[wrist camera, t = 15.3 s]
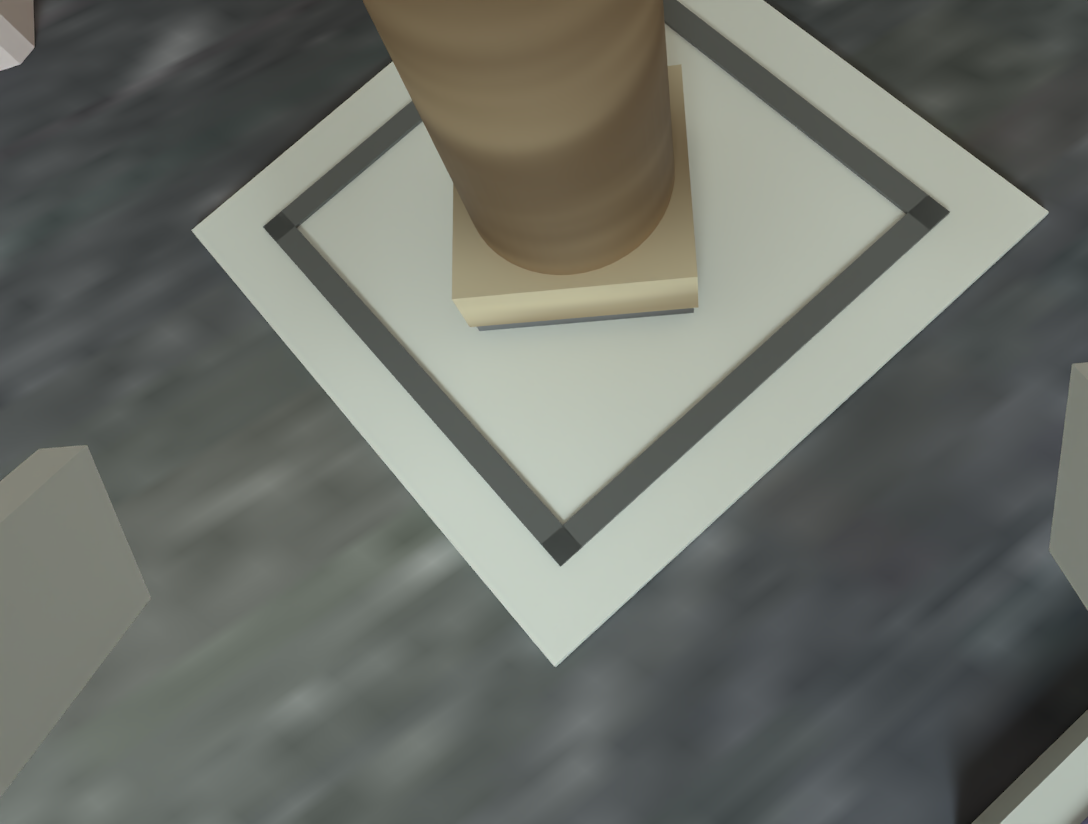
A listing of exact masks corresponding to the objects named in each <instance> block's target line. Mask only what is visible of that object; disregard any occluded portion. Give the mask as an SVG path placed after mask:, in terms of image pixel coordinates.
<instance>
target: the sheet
mask: <svg viewBox="0 0 1088 824" xmlns="http://www.w3.org/2000/svg"><path fill="white" fill-rule="evenodd" d="M663 6H664V21H665V36H666V51H667V65H668V66H672V65H680V64H681V67H682V80H683V93H684V106H685V119H686V132H687V145H688V158H689V171H690V184H691V197H692V210H693V223H694V236H695V249H696V262H697V275H698V306H699V307H698V308H694V313H686V314H675V315H663V316H651V317H640V318H628V319H616V320H604V321H593V322H581V323H569V324H558V325H546V326H534V327H523V328H511V329H499V330H488V331H479V330H478V328H477V327H469V325H468V324H467V322H466V321H465V319H464V318H463V316H462V314H461V313H460V311H459V310H458V308H457V307H456V305H455V304H454V302H453V300H452V240H453V181H452V179H451V177H450V175H449V173H448V171H447V169H446V167H445V165H444V163H443V161H442V159H441V157H440V155H439V153H438V151H437V149H436V147H435V145H434V143H433V141H432V139H431V137H430V135H429V133H428V131H427V129H426V127H425V125H424V123H423V121H422V119H421V117H420V115H419V113H418V111H417V109H416V107H415V105H414V103H413V101H412V99H411V97H410V95H409V93H408V91H407V89H406V87H405V85H404V83H403V81H402V79H401V77H400V75H399V73H398V71H397V69H396V67H395V65H394V63H393V62H391V63H390V64H389V65H388V66H387V67H385V68H384V69H383V70H382V71H381V72H379V73H378V74H377V75H376V76H375V77H373V78H372V79H371V80H370V81H369V82H367V83H366V84H365V85H364V86H363V87H362V88H360V89H359V90H358V91H357V92H356V93H354V94H353V95H352V96H351V97H350V98H348V99H347V100H346V101H345V102H344V103H342V104H341V105H340V106H339V107H338V108H337V109H335V110H334V111H333V112H332V113H331V114H329V115H328V116H327V117H326V118H325V119H323V120H322V121H321V122H320V123H319V124H317V125H316V126H315V127H314V128H313V129H311V130H310V131H309V132H308V133H307V134H306V135H304V136H303V137H302V138H301V139H300V140H298V141H297V142H296V143H295V144H294V145H292V146H291V147H290V148H289V149H288V150H286V151H285V152H284V153H283V154H282V155H281V156H279V157H278V158H277V159H276V160H275V161H273V162H272V163H271V164H270V165H269V166H267V167H266V168H265V169H264V170H263V171H261V172H260V173H259V174H258V175H257V176H255V177H254V178H253V179H252V180H251V181H250V182H248V183H247V184H246V185H245V186H244V187H242V188H241V189H240V190H239V191H238V192H236V193H235V194H234V195H233V196H232V197H230V198H229V199H228V200H227V201H226V202H225V203H223V204H222V205H221V206H220V207H219V208H217V209H216V210H215V211H214V212H213V213H211V214H210V215H209V216H208V217H207V218H205V219H204V220H203V221H202V222H201V223H199V224H198V225H197V226H196V227H195V228H194V229H192V230H191V231H192V232H193V233H194V234H195V235H196V237H197V238H198V239H199V240H200V241H201V243H202V244H203V245H204V246H205V247H206V249H207V250H208V251H209V252H210V253H211V255H212V256H213V257H214V258H215V259H216V261H217V262H218V263H219V264H220V265H221V267H222V268H223V269H224V270H225V271H226V273H227V274H228V275H229V276H230V277H231V279H232V280H233V281H234V282H235V283H236V285H237V286H238V287H239V288H240V289H241V291H242V292H243V293H244V294H245V295H246V297H247V298H248V299H249V300H250V301H251V303H252V304H253V305H254V306H255V307H256V309H257V310H258V311H259V312H260V313H261V315H262V316H263V317H264V318H265V320H266V321H267V322H268V323H269V324H270V326H271V327H272V328H273V329H274V330H275V332H276V333H277V334H278V335H279V336H280V338H281V339H282V340H283V341H284V342H285V344H286V345H287V346H288V347H289V348H290V350H291V351H292V352H293V353H294V354H295V356H296V357H297V358H298V359H299V360H300V362H301V363H302V364H303V365H304V366H305V368H306V369H307V370H308V371H309V372H310V374H311V375H312V376H313V377H314V378H315V380H316V381H317V382H318V383H319V384H320V386H321V387H322V388H323V389H324V390H325V392H326V393H327V394H328V395H329V396H330V398H331V399H332V400H333V401H334V402H335V404H336V405H337V406H338V407H339V408H340V410H341V411H342V412H343V413H344V414H345V416H346V417H347V418H348V419H349V420H350V422H351V423H352V424H353V425H354V426H355V428H356V429H357V430H358V431H359V432H360V434H361V435H362V436H363V437H364V438H365V440H366V441H367V442H368V443H369V444H370V446H371V447H372V448H373V449H374V450H375V452H376V453H377V454H378V455H379V456H380V458H381V459H382V460H383V461H384V463H385V464H386V465H387V466H388V467H389V469H390V470H391V471H392V472H393V473H394V475H395V476H396V477H397V478H398V479H399V481H400V482H401V483H402V484H403V485H404V487H405V488H406V489H407V490H408V491H409V493H410V494H411V495H412V496H413V497H414V499H415V500H416V501H417V502H418V503H419V505H420V506H421V507H422V508H423V509H424V511H425V512H426V513H427V514H428V515H429V517H430V518H431V519H432V520H433V521H434V523H435V524H436V525H437V526H438V527H439V529H440V530H441V531H442V532H443V533H444V535H445V536H446V537H447V538H448V539H449V541H450V542H451V543H452V544H453V545H454V547H455V548H456V549H457V550H458V551H459V553H460V554H461V555H462V556H463V557H464V559H465V560H466V561H467V562H468V563H469V565H470V566H471V567H472V568H473V569H474V571H475V572H476V573H477V574H478V575H479V577H480V578H481V579H482V580H483V581H484V583H485V584H486V585H487V586H488V587H489V589H490V590H491V591H492V592H493V593H494V595H495V596H496V597H497V598H498V599H499V601H500V602H501V603H502V604H503V605H504V607H505V608H506V609H507V610H508V612H509V613H510V614H511V615H512V616H513V618H514V619H515V620H516V621H517V622H518V624H519V625H520V626H521V627H522V628H523V630H524V631H525V632H526V633H527V634H528V636H529V637H530V638H531V639H532V640H533V642H534V643H535V644H536V645H537V646H538V648H539V649H540V650H541V651H542V652H543V654H544V655H545V656H546V657H547V658H548V660H549V661H550V662H551V663H552V664H553V666H554V667H556V666H557V665H559V664H560V663H561V662H562V661H563V660H564V659H565V658H566V657H567V656H568V655H569V654H571V653H572V652H573V651H574V650H575V649H576V648H577V647H578V646H579V645H580V644H581V643H582V642H584V641H585V640H586V639H587V638H588V637H589V636H590V635H591V634H592V633H593V632H594V631H596V630H597V629H598V628H599V627H600V626H601V625H602V624H603V623H604V622H605V621H606V620H607V619H609V618H610V617H611V616H612V615H613V614H614V613H615V612H616V611H617V610H618V609H619V608H621V607H622V606H623V605H624V604H625V603H626V602H627V601H628V600H629V599H630V598H631V597H633V596H634V595H635V594H636V593H637V592H638V591H639V590H640V589H641V588H642V587H643V586H644V585H646V584H647V583H648V582H649V581H650V580H651V579H652V578H653V577H654V576H655V575H656V574H658V573H659V572H660V571H661V570H662V569H663V568H664V567H665V566H666V565H667V564H668V563H669V562H671V561H672V560H673V559H674V558H675V557H676V556H677V555H678V554H679V553H680V552H681V551H683V550H684V549H685V548H686V547H687V546H688V545H689V544H690V543H691V542H692V541H693V540H694V539H696V538H697V537H698V536H699V535H700V534H701V533H702V532H703V531H704V530H705V529H706V528H708V527H709V526H710V525H711V524H712V523H713V522H714V521H715V520H716V519H717V518H718V517H719V516H721V515H722V514H723V513H724V512H725V511H726V510H727V509H728V508H729V507H730V506H731V505H733V504H734V503H735V502H736V501H737V500H738V499H739V498H740V497H741V496H742V495H743V494H744V493H746V492H747V491H748V490H749V489H750V488H751V487H752V486H753V485H754V484H755V483H756V482H758V481H759V480H760V479H761V478H762V477H763V476H764V475H765V474H766V473H767V472H768V471H770V470H771V469H772V468H773V467H774V466H775V465H776V464H777V463H778V462H779V461H780V460H781V459H783V458H784V457H785V456H786V455H787V454H788V453H789V452H790V451H791V450H792V449H793V448H795V447H796V446H797V445H798V444H799V443H800V442H801V441H802V440H803V439H804V438H805V437H806V436H808V435H809V434H810V433H811V432H812V431H813V430H814V429H815V428H816V427H817V426H818V425H820V424H821V423H822V422H823V421H824V420H825V419H826V418H827V417H828V416H829V415H830V414H831V413H833V412H834V411H835V410H836V409H837V408H838V407H839V406H840V405H841V404H842V403H843V402H845V401H846V400H847V399H848V398H849V397H850V396H851V395H852V394H853V393H854V392H855V391H856V390H858V389H859V388H860V387H861V386H862V385H863V384H864V383H865V382H866V381H867V380H868V379H870V378H871V377H872V376H873V375H874V374H875V373H876V372H877V371H878V370H879V369H880V368H882V367H883V366H884V365H885V364H886V363H887V362H888V361H889V360H890V359H891V358H892V357H893V356H895V355H896V354H897V353H898V352H899V351H900V350H901V349H902V348H903V347H904V346H905V345H907V344H908V343H909V342H910V341H911V340H912V339H913V338H914V337H915V336H916V335H917V334H918V333H920V332H921V331H922V330H923V329H924V328H925V327H926V326H927V325H928V324H929V323H930V322H932V321H933V320H934V319H935V318H936V317H937V316H938V315H939V314H940V313H941V312H942V311H943V310H945V309H946V308H947V307H948V306H949V305H950V304H951V303H952V302H953V301H954V300H955V299H957V298H958V297H959V296H960V295H961V294H962V293H963V292H964V291H965V290H966V289H967V288H968V287H970V286H971V285H972V284H973V283H974V282H975V281H976V280H977V279H978V278H979V277H980V276H982V275H983V274H984V273H985V272H986V271H987V270H988V269H989V268H990V267H991V266H992V265H994V264H995V263H996V262H997V261H998V260H999V259H1000V258H1001V257H1002V256H1003V255H1004V254H1005V253H1007V252H1008V251H1009V250H1010V249H1011V248H1012V247H1013V246H1014V245H1015V244H1016V243H1017V242H1019V241H1020V240H1021V239H1022V238H1023V237H1024V236H1025V235H1026V234H1027V233H1028V232H1029V231H1030V230H1032V229H1033V228H1034V227H1035V226H1036V225H1037V224H1038V223H1039V222H1040V221H1041V220H1042V219H1044V218H1045V217H1046V215H1047V214H1048V211H1047V210H1046V209H1044V208H1043V207H1042V206H1040V205H1039V204H1037V203H1036V202H1035V201H1033V200H1032V199H1031V198H1029V197H1028V196H1027V195H1025V194H1024V193H1023V192H1021V191H1020V190H1019V189H1017V188H1016V187H1015V186H1013V185H1012V184H1010V183H1009V182H1008V181H1006V180H1005V179H1004V178H1002V177H1001V176H1000V175H998V174H997V173H996V172H994V171H993V170H992V169H990V168H989V167H988V166H986V165H985V164H983V163H982V162H981V161H979V160H978V159H977V158H975V157H974V156H973V155H971V154H970V153H969V152H967V151H966V150H965V149H963V148H962V147H961V146H959V145H958V144H956V143H955V142H954V141H952V140H951V139H950V138H948V137H947V136H946V135H944V134H943V133H942V132H940V131H939V130H938V129H936V128H935V127H934V126H932V125H931V124H929V123H928V122H927V121H925V120H924V119H923V118H921V117H920V116H919V115H917V114H916V113H915V112H913V111H912V110H911V109H909V108H908V107H907V106H905V105H904V104H902V103H901V102H900V101H898V100H897V99H896V98H894V97H893V96H892V95H890V94H889V93H888V92H886V91H885V90H884V89H882V88H881V87H880V86H878V85H877V84H875V83H874V82H873V81H871V80H870V79H869V78H867V77H866V76H865V75H863V74H862V73H861V72H859V71H858V70H857V69H855V68H854V67H853V66H851V65H850V64H849V63H847V62H846V61H844V60H843V59H842V58H840V57H839V56H838V55H836V54H835V53H834V52H832V51H831V50H830V49H828V48H827V47H826V46H824V45H823V44H822V43H820V42H819V41H817V40H816V39H815V38H813V37H812V36H811V35H809V34H808V33H807V32H805V31H804V30H803V29H801V28H800V27H799V26H797V25H796V24H795V23H793V22H792V21H790V20H789V19H788V18H786V17H785V16H784V15H782V14H781V13H780V12H778V11H777V10H776V9H774V8H773V7H772V6H770V5H769V4H768V3H766V2H765V1H763V0H663Z"/></svg>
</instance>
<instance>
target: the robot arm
mask: <svg viewBox="0 0 1088 824" xmlns="http://www.w3.org/2000/svg"><path fill="white" fill-rule="evenodd" d="M1049 551H1050V553H1051V555H1052V556H1053V558H1054V559H1055V561H1056V562H1057V564H1058V565H1059V567H1060V568H1061V570H1062V572H1063V573H1064V575H1065V576H1066V578H1067V579H1068V581H1069V582H1070V584H1071V585H1072V587H1073V589H1074V590H1075V592H1076V593H1077V595H1078V596H1079V598H1080V599H1081V601H1082V602H1083V604H1084V606H1085V607H1086V609H1087V610H1088V363H1076V364H1072V369H1071V377H1070V385H1069V393H1068V401H1067V409H1066V417H1065V425H1064V433H1063V441H1062V449H1061V457H1060V465H1059V473H1058V481H1057V489H1056V498H1055V506H1054V514H1053V522H1052V530H1051V538H1050V546H1049ZM150 599H151V597H150V594H149V592H148V589H147V587H146V585H145V582H144V580H143V578H142V575H141V573H140V570H139V568H138V566H137V563H136V561H135V558H134V556H133V554H132V551H131V549H130V546H129V544H128V542H127V539H126V537H125V535H124V532H123V530H122V527H121V525H120V523H119V520H118V518H117V515H116V513H115V511H114V508H113V506H112V504H111V501H110V499H109V496H108V494H107V492H106V489H105V487H104V484H103V482H102V480H101V477H100V475H99V472H98V470H97V468H96V465H95V463H94V461H93V458H92V456H91V453H90V451H89V449H88V446H87V445H81V446H68V447H56V448H44V449H38V450H37V451H36V452H35V453H34V454H32V455H31V456H30V457H29V458H28V459H26V460H25V461H24V462H23V463H22V464H20V465H19V466H18V467H17V468H16V469H14V470H13V471H12V472H11V473H10V474H8V475H7V476H6V477H5V478H4V479H3V480H1V481H0V798H1V796H2V795H3V794H4V792H5V791H6V790H7V788H8V787H9V786H10V784H11V783H12V782H13V780H14V779H15V778H16V776H17V775H18V774H19V772H20V771H21V770H22V768H23V767H24V766H25V764H26V763H27V762H28V760H29V759H30V758H31V756H32V755H33V754H34V753H35V751H36V750H37V749H38V747H39V746H40V745H41V743H42V742H43V741H44V739H45V738H46V737H47V735H48V734H49V733H50V731H51V730H52V729H53V727H54V726H55V725H56V723H57V722H58V721H59V719H60V718H61V717H62V715H63V714H64V713H65V711H66V710H67V709H68V707H69V706H70V705H71V703H72V702H73V701H74V700H75V698H76V697H77V696H78V694H79V693H80V692H81V690H82V689H83V688H84V686H85V685H86V684H87V682H88V681H89V680H90V678H91V677H92V676H93V674H94V673H95V672H96V670H97V669H98V668H99V666H100V665H101V664H102V662H103V661H104V660H105V658H106V657H107V656H108V654H109V653H110V652H111V650H112V649H113V648H114V647H115V645H116V644H117V643H118V641H119V640H120V639H121V637H122V636H123V635H124V633H125V632H126V631H127V629H128V628H129V627H130V625H131V624H132V623H133V621H134V620H135V619H136V617H137V616H138V615H139V613H140V612H141V611H142V609H143V608H144V607H145V605H146V604H147V603H148V601H149V600H150Z"/></svg>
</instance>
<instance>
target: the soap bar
mask: <svg viewBox="0 0 1088 824" xmlns="http://www.w3.org/2000/svg"><path fill="white" fill-rule="evenodd" d="M34 47H35V40H34V3H33V0H0V71H1V70H4V69H8V68H11V67H14V66H17V65H20V64H21V63H22V62H23V61H24V60H25V59H26V57H27V56H28V55H29V54H30V53H31V51H32V50H33V49H34Z"/></svg>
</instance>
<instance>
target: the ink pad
mask: <svg viewBox="0 0 1088 824" xmlns="http://www.w3.org/2000/svg"><path fill="white" fill-rule="evenodd" d="M971 824H1088V710H1087V711H1086V712H1085V713H1084V714H1083V715H1082V716H1081V717H1079V718H1078V719H1077V720H1076V721H1075V722H1074V723H1073V724H1072V725H1071V726H1070V727H1069V728H1068V729H1067V730H1066V731H1065V732H1064V733H1063V734H1062V735H1061V736H1060V737H1059V738H1058V739H1057V740H1056V741H1055V742H1054V743H1053V744H1052V745H1051V746H1050V747H1049V748H1048V749H1047V750H1046V751H1045V752H1044V753H1043V754H1042V755H1041V756H1040V757H1039V758H1038V759H1037V760H1036V761H1035V762H1034V763H1033V764H1032V765H1031V766H1030V767H1029V768H1027V769H1026V770H1025V771H1024V772H1023V773H1022V774H1021V775H1020V776H1019V777H1018V778H1017V779H1016V780H1015V781H1014V782H1013V783H1012V784H1011V785H1010V786H1009V787H1008V788H1007V789H1006V790H1005V791H1004V792H1003V793H1002V794H1001V795H1000V796H999V797H998V798H997V799H996V800H995V801H994V802H993V803H992V804H991V805H990V806H989V807H988V808H987V809H986V810H985V811H984V812H983V813H982V814H981V815H980V816H979V817H978V818H977V819H975V820H974V821H973V822H972V823H971Z"/></svg>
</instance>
